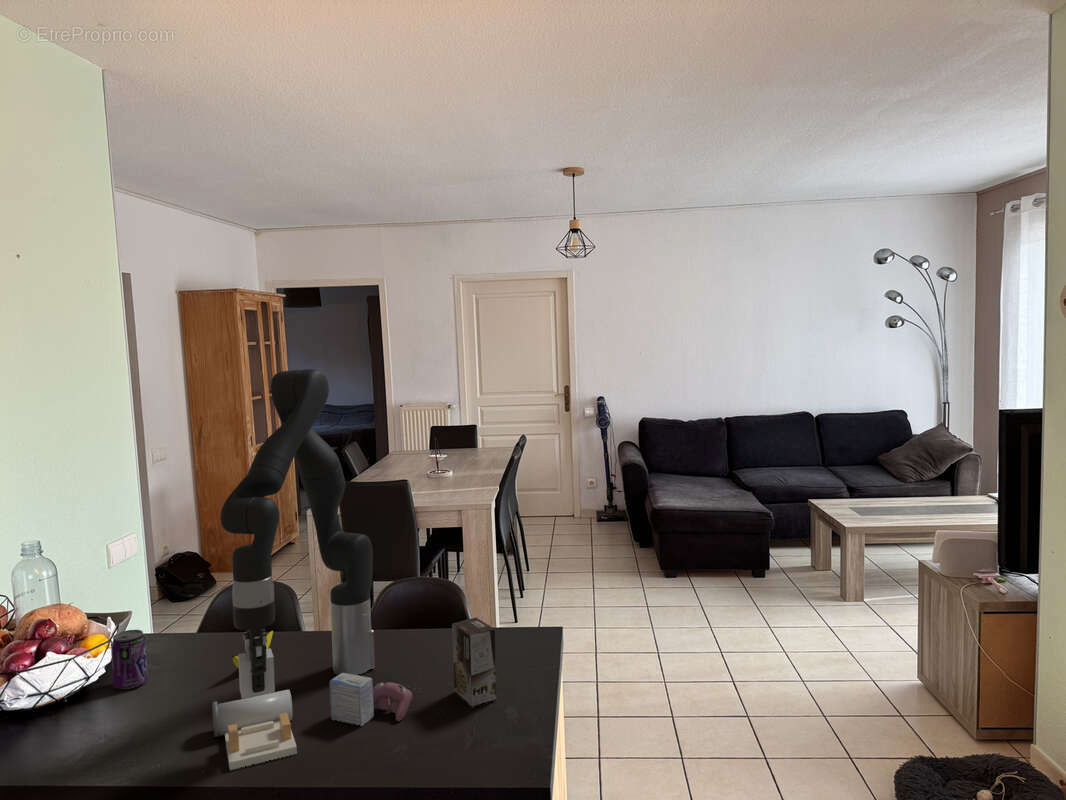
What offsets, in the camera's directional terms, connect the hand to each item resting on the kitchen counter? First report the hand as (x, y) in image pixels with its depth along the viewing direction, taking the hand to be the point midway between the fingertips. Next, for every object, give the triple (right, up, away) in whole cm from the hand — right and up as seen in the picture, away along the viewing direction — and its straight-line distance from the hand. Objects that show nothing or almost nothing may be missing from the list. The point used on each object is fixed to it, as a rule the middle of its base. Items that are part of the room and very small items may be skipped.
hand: (257, 685), depth 145 cm
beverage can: (-40, -11, +29) cm, 51 cm away
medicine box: (+16, -12, +11) cm, 23 cm away
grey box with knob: (0, -1, 0) cm, 1 cm away
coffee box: (+41, -11, +21) cm, 47 cm away
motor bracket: (-1, -12, +4) cm, 13 cm away
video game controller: (+23, -11, +14) cm, 29 cm away
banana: (-15, -10, +39) cm, 43 cm away
